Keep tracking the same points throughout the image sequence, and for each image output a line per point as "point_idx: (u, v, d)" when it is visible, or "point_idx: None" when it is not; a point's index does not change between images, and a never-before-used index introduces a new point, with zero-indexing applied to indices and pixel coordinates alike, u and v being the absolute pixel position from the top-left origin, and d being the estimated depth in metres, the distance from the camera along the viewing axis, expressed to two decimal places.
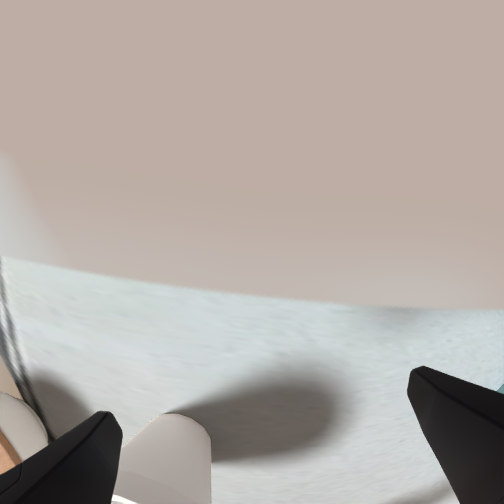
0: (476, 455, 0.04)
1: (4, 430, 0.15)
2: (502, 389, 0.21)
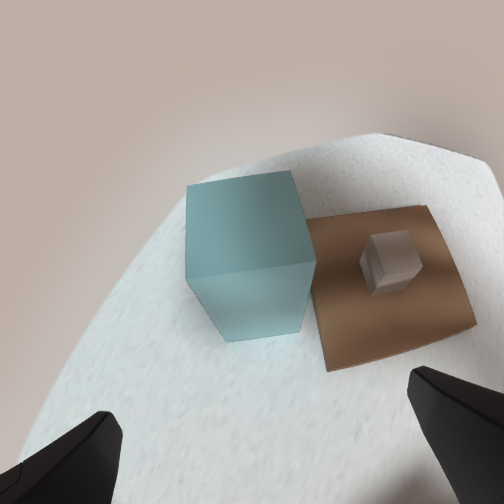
0: (476, 455, 0.04)
1: None
2: None
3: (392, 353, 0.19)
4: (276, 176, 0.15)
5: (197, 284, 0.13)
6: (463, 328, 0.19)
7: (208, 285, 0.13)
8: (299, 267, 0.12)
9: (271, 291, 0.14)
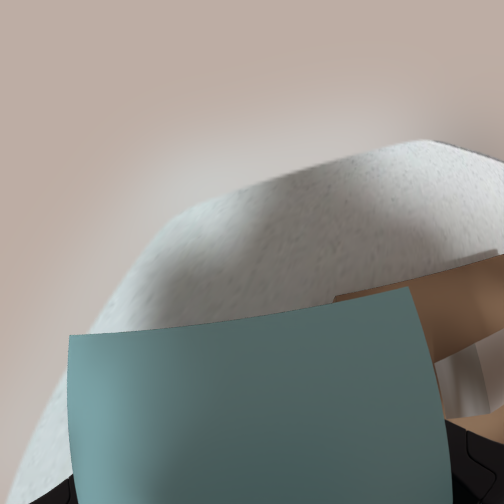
0: None
1: None
2: None
3: None
4: (369, 317, 0.04)
5: None
6: None
7: None
8: None
9: None
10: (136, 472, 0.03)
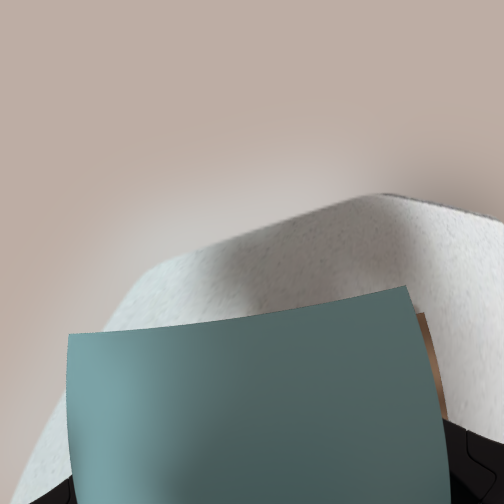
0: None
1: None
2: None
3: None
4: (366, 315, 0.04)
5: None
6: None
7: None
8: None
9: None
10: (134, 470, 0.03)
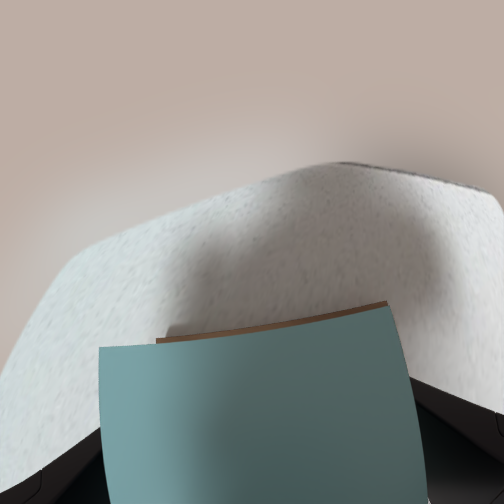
0: (451, 470, 0.04)
1: None
2: None
3: None
4: (355, 332, 0.05)
5: None
6: None
7: None
8: None
9: None
10: (162, 461, 0.04)
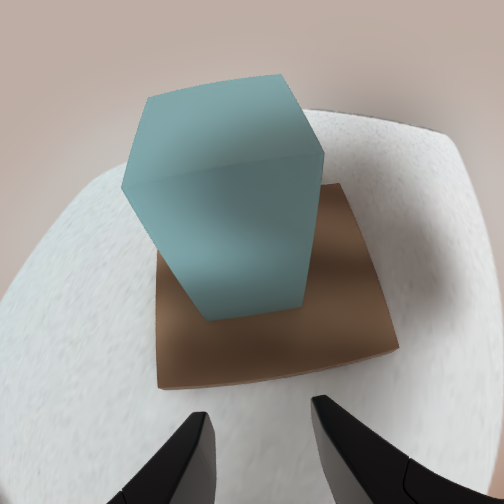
0: None
1: None
2: None
3: (244, 379, 0.15)
4: (263, 78, 0.10)
5: (140, 199, 0.08)
6: (372, 353, 0.15)
7: (158, 203, 0.08)
8: (298, 166, 0.08)
9: (258, 219, 0.09)
10: (171, 115, 0.09)
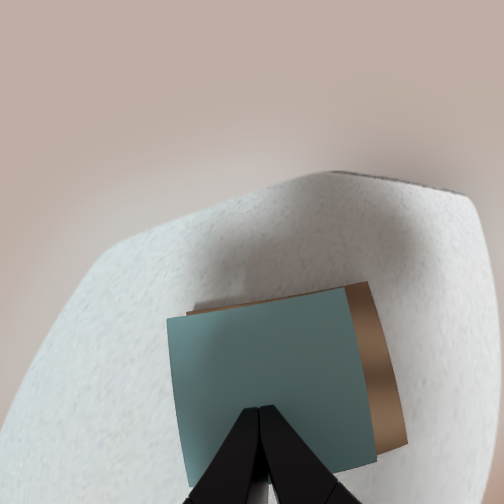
0: None
1: None
2: None
3: None
4: (321, 302, 0.08)
5: None
6: (385, 450, 0.14)
7: None
8: (351, 464, 0.07)
9: None
10: (211, 384, 0.08)
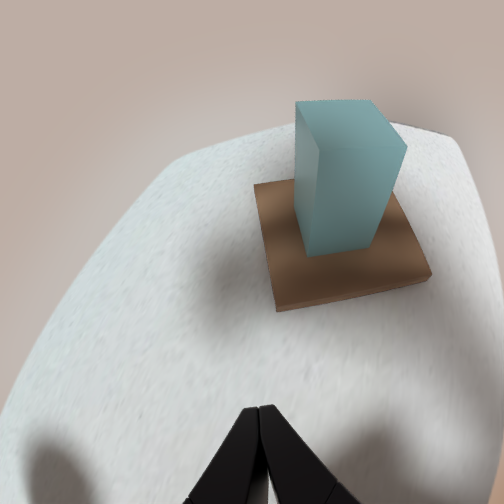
0: None
1: None
2: (299, 221, 0.25)
3: (339, 294, 0.22)
4: (362, 101, 0.17)
5: (325, 158, 0.15)
6: (416, 276, 0.22)
7: (331, 162, 0.15)
8: (396, 151, 0.15)
9: (371, 177, 0.16)
10: (322, 116, 0.16)
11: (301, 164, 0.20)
